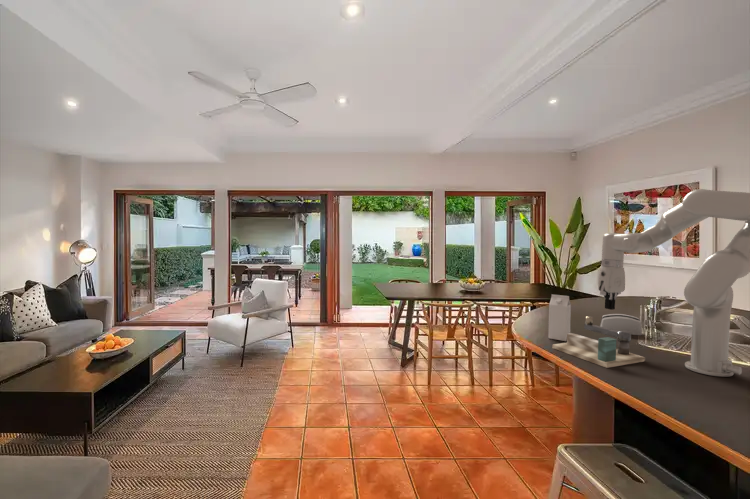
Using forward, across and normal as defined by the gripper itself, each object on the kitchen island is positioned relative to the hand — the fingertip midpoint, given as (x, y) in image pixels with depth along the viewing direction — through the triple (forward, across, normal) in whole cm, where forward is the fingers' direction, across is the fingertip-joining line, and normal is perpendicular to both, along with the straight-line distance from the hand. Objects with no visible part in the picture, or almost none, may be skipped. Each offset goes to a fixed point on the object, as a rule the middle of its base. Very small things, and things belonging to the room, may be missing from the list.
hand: (609, 308), depth 159 cm
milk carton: (+16, -9, +16) cm, 24 cm away
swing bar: (+9, -7, -5) cm, 12 cm away
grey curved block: (+16, +25, +13) cm, 32 cm away
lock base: (+15, -14, -6) cm, 22 cm away
